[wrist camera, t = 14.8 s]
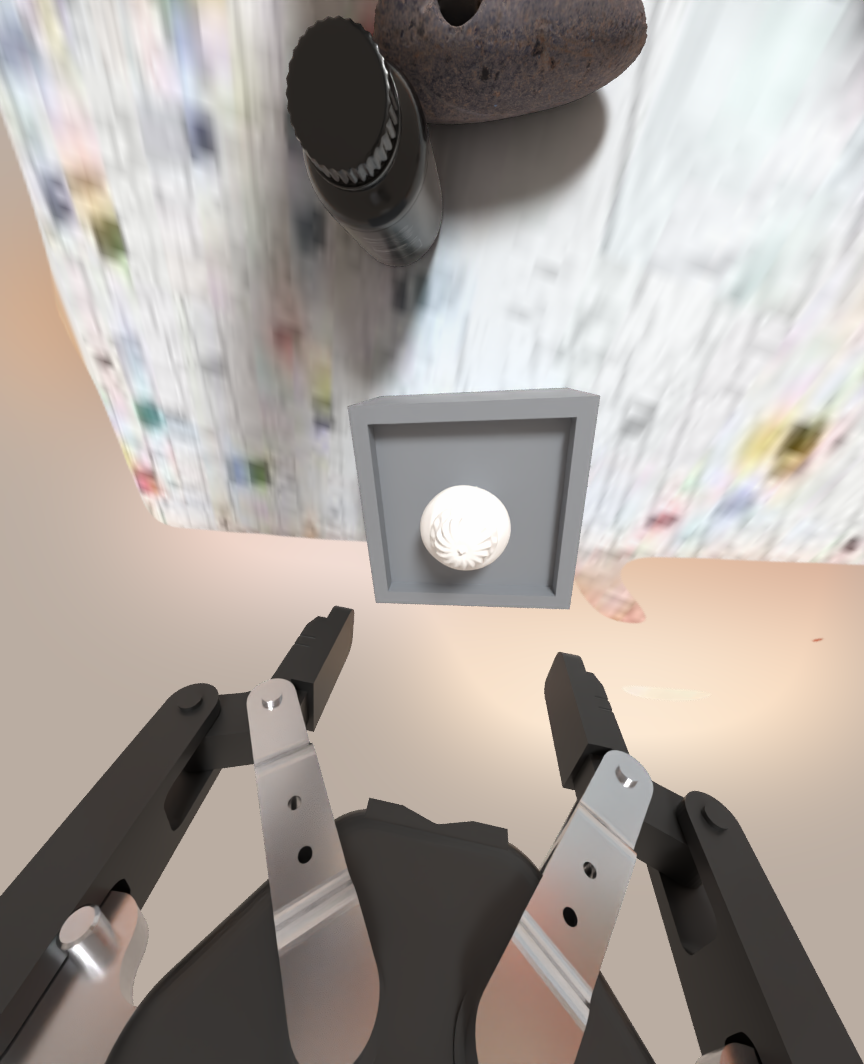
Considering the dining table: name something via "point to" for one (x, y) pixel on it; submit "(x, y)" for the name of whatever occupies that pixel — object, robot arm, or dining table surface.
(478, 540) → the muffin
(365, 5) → the dining table surface
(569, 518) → the grey square open box
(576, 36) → the perforated stone tool
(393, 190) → the supplement bottle
